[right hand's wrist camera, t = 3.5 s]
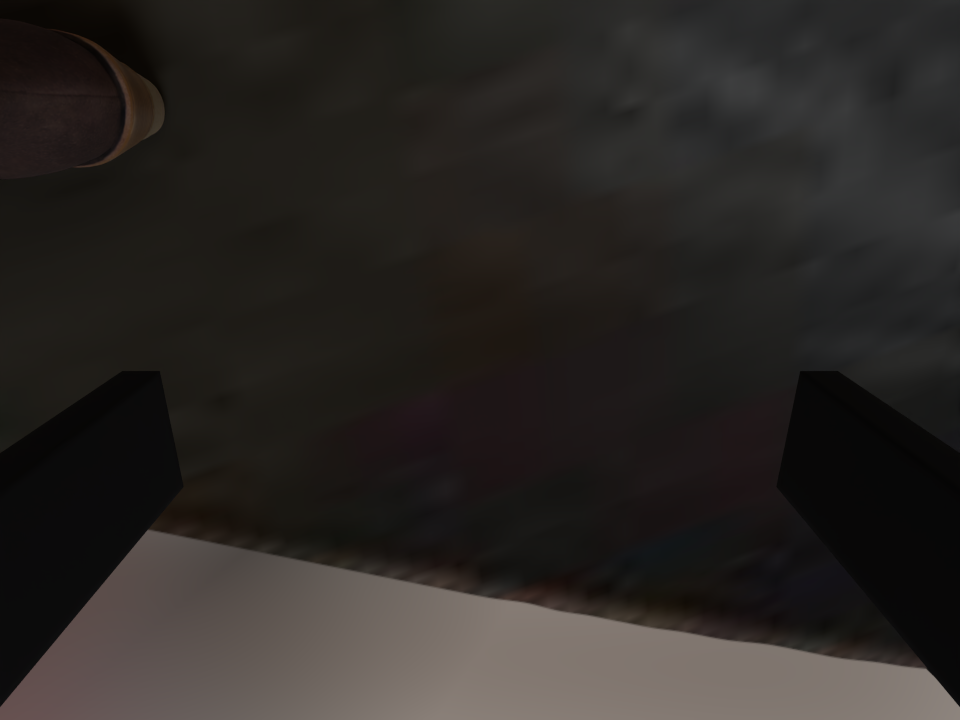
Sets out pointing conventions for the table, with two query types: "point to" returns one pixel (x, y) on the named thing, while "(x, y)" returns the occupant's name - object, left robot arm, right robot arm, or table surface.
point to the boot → (67, 102)
